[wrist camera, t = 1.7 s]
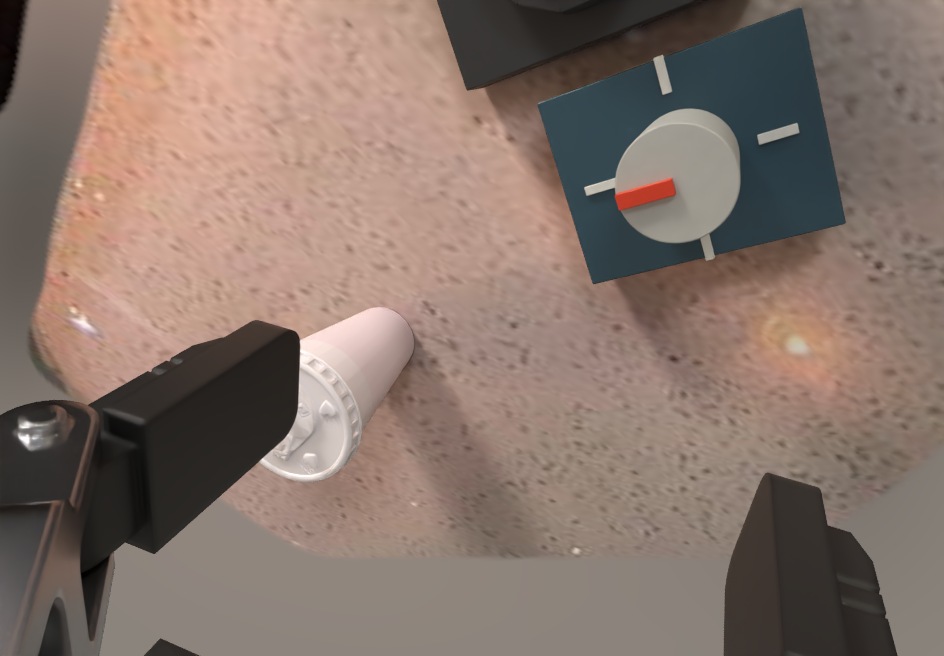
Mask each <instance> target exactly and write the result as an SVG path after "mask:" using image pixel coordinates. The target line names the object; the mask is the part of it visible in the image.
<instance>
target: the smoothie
mask: <svg viewBox="0 0 944 656" xmlns="http://www.w3.org/2000/svg"><path fill="white" fill-rule="evenodd" d="M413 351H414V337H413V333H412V330H411V328H410V326H409V325H408V323H407V322H406V321H405V320H404V318H402V317H401V316H400V315H399V314H398V313H396V312H394V311H392V310H390V309H387V308H383V307H374V308H370V309H368V310H365V311H363V312H361V313H359V314H357V315H354V316H352V317H350V318H348V319H345V320H343V321H341V322H339V323H337V324H334V325H332V326H330V327H328V328H325V329H323V330H321V331H319V332H317V333H314V334H312V335H310V336H308V337H306V338H303V339H301V340H300V369H299V397H298V411H297V415H296V419H295V422H294V424H293V426H292V428H291V430H290V432H289V433H288V435H287V436H286V437H285V439H284V440H283V441H281V442H280V443H279V444H278V445H277V446H276V447H275V448H274V449H272V450H271V451H270V452H269V453H268V454H267V455H266V456H265V457H263V458H262V459H261V460H260V461H259V463H260V464H262V465H263V466H264V467H265V468H267V469H268V470H270V471H272V472H274V473H275V474H277V475H279V476H282V477H284V478H287V479H290V480H294V481H300V482H316V481H321V480H324V479H327V478H329V477H331V476H332V475H334V474H335V473H337V472H338V471H339V470H340V469H341V468H342V467H343V466H345V465H346V464H347V463H348V462H349V461H350V460H351V458H352V457H353V456H354V455H355V454H356V451H357V449H358V446H359V444H360V441H361V434H362V431H363V429H364V428H365V427H366V425H367V423H368V422H369V420H370V418H371V417H372V415H373V414H374V412H375V411H376V409H377V408H378V406H379V405H380V403H381V402H382V400H383V399H384V397H385V396H386V394H387V393H388V391H389V390H390V388H391V387H392V385H393V384H394V382H395V381H396V379H397V378H398V376H399V374H400V373H401V371H402V370H403V368H404V367H405V365H406V364H407V362H408V361H409V359H410V358H411V356H412V354H413Z"/></svg>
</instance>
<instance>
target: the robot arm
mask: <svg viewBox="0 0 944 656" xmlns="http://www.w3.org/2000/svg"><path fill="white" fill-rule="evenodd" d="M299 369H300V339H299V336H298V334H297V333H296V332H295V331H293V330H289V329H286V328H283V327H279V326H276V325H273V324H269V323H266V322H263V321H259V320H255V321H252V322H250V323H248V324H246V325H245V326H243V327H241V328H240V329H238V330H236V331H234V332H233V333H231V334H229V335H228V336H226V337H224V338H219V339H215V340H211V341H208V342H204V343H201V344H197V345H193V346H191V347H190V348H188V349H186V350H184V351H183V352H181V353H179V354H177V355H176V356H174V357H172V358H171V360H170V362H169V361H165V362H163V363H161V364H160V365H158V366H156V367H154V368H153V369H152V372H149V371H147V372H145V373H144V374H142V375H140V376H138V377H137V378H135V379H133V380H131V381H130V382H128V383H126V384H124V385H122V386H121V387H119V388H117V389H115V390H114V391H112V392H110V393H108V394H107V395H105V396H103V397H101V398H100V399H98V400H96V401H94V402H92V403H91V404H89V405H86V404H82V403H79V402H74V401H67V400H49V401H41V402H34V403H30V404H26V405H23V406H20V407H16V408H14V409H12V410H9V411H7V412H5V413H3V414H2V415H0V656H99V654H100V649H101V643H102V638H103V632H104V626H105V620H106V614H107V608H108V603H109V597H110V592H111V586H112V580H113V574H114V569H115V561H114V551H115V550H116V549H117V548H119V547H120V546H121V545H122V544H123V543H125V542H126V543H128V544H131V545H133V546H136V547H138V548H140V549H143V550H146V551H148V552H150V553H153V554H155V553H156V552H158V551H159V550H160V549H161V548H162V547H163V546H164V545H165V544H166V543H168V542H169V541H170V540H171V539H172V538H173V537H174V536H176V535H177V534H178V533H179V532H180V531H181V530H182V529H183V528H185V527H186V526H187V525H188V524H189V523H190V522H191V521H192V520H194V519H195V518H196V517H197V516H198V515H199V514H200V513H201V512H203V511H204V510H205V509H206V508H207V507H208V506H209V505H210V504H211V503H213V502H214V501H215V500H216V499H217V498H218V497H220V496H221V495H222V494H223V493H224V492H225V491H226V490H227V489H229V488H230V487H231V486H232V485H233V484H234V483H235V482H236V481H238V480H239V479H240V478H241V477H242V476H243V475H244V474H245V473H247V472H248V471H249V470H250V469H251V468H252V467H253V466H254V465H256V464H257V463H258V462H259V461H260V460H261V459H262V458H263V457H265V456H266V455H267V454H268V453H269V452H270V451H271V450H272V449H274V448H275V447H276V446H277V445H278V444H279V443H280V442H281V441H283V440H284V439H285V437H286V436H287V435H288V433H289V432H290V430H291V428H292V426H293V424H294V422H295V419H296V415H297V411H298V397H299ZM879 591H880V587H879V584H878V580H877V576H876V572H875V568H874V565H873V561H872V560H871V559H870V557H869V556H868V555H867V553H866V552H865V551H864V549H863V548H862V547H861V545H860V544H859V543H858V541H857V540H856V539H855V538H854V536H853V535H852V534H851V533H850V532H847V531H844V530H841V529H837V528H834V527H831V526H828V525H827V520H826V515H825V509H824V504H823V499H822V494H821V490H820V489H819V488H818V487H815V486H811V485H808V484H805V483H801V482H798V481H794V480H791V479H788V478H784V477H781V476H778V475H774V474H771V473H766V474H765V475H764V476H763V478H762V480H761V482H760V484H759V486H758V489H757V491H756V494H755V497H754V499H753V502H752V504H751V507H750V510H749V512H748V515H747V517H746V520H745V523H744V525H743V528H742V530H741V533H740V536H739V538H738V541H737V543H736V546H735V549H734V551H733V554H732V557H731V561H730V565H729V569H728V574H727V579H726V586H725V619H724V656H897V652H896V649H895V645H894V641H893V637H892V634H891V630H890V626H889V622H888V619H886V618H885V615H886V611H885V607H884V603H883V599H882V596H881V595H880V594H879ZM144 656H199V655H197V654H194V653H192V652H190V651H188V650H185V649H183V648H181V647H179V646H176V645H174V644H172V643H170V642H167V641H165V640H163V639H159V640H158V641H157V643H156V644H155V645H154V646H153V647H152V648H151V649H150V650H149V651H148V652H147V653H146V654H145V655H144Z"/></svg>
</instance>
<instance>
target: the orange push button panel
mask: <svg viewBox="0 0 944 656" xmlns="http://www.w3.org/2000/svg"><path fill="white" fill-rule="evenodd" d="M704 1H707V0H437V2H438V5H439V8H440V11H441V14H442V17H443V20H444V23H445V26H446V29H447V32H448V35H449V38H450V41H451V44H452V47H453V50H454V53H455V56H456V59H457V62H458V65H459V68H460V71H461V74H462V77H463V80H464V83H465V86H466V89H467V90H473V89H479V88H484V87H486V86H489V85H491V84H494V83H496V82H499V81H502V80H504V79H507V78H509V77H512V76H514V75H517V74H520V73H522V72H525V71H527V70H530V69H532V68H535V67H537V66H540V65H543V64H545V63H548V62H550V61H553V60H555V59H558V58H561V57H563V56H566V55H568V54H571V53H573V52H576V51H578V50H581V49H584V48H586V47H589V46H591V45H594V44H596V43H599V42H602V41H604V40H607V39H609V38H612V37H614V36H617V35H620V34H622V33H625V32H627V31H630V30H632V29H635V28H637V27H640V26H643V25H645V24H648V23H650V22H653V21H655V20H658V19H661V18H663V17H666V16H668V15H671V14H673V13H676V12H678V11H681V10H684V9H686V8H689V7H691V6H694V5H696V4H699V3H702V2H704Z"/></svg>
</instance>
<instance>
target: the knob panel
mask: <svg viewBox="0 0 944 656" xmlns="http://www.w3.org/2000/svg"><path fill="white" fill-rule="evenodd" d="M653 60H654V61H652V62H649V63H646V64H644V65H641V66H638V67H635V68H633V69H630V70H627V71H625V72H622V73H619V74H616V75H614V76H611V77H608V78H605V79H603V80H600V81H597V82H594V83H592V84H589V85H586V86H584V87H581V88H578V89H575V90H573V91H570V92H567V93H564V94H562V95H559V96H556V97H554V98H551V99H548V100H545V101H543V102H540V103H538V108H539V111H540V114H541V117H542V121H543V124H544V127H545V130H546V134H547V137H548V140H549V143H550V147H551V150H552V153H553V156H554V160H555V163H556V166H557V169H558V173H559V176H560V179H561V182H562V186H563V189H564V192H565V195H566V199H567V202H568V205H569V208H570V212H571V215H572V218H573V221H574V224H575V228H576V231H577V234H578V237H579V241H580V244H581V247H582V250H583V254H584V257H585V260H586V263H587V267H588V270H589V273H590V276H591V280H592V283H593V284H597V283H601V282H605V281H609V280H613V279H617V278H622V277H626V276H630V275H634V274H638V273H642V272H647V271H651V270H655V269H659V268H663V267H667V266H672V265H676V264H680V263H684V262H688V261H692V260H697V259H701V258H705V259H706V261H708V260H712V259H715V255H717V254H722V253H726V252H730V251H734V250H738V249H742V248H747V247H751V246H755V245H759V244H763V243H767V242H772V241H776V240H780V239H784V238H788V237H792V236H797V235H801V234H805V233H809V232H813V231H817V230H822V229H826V228H830V227H834V226H838V225H842V224H845V223H846V221H845V216H844V211H843V206H842V201H841V197H840V192H839V187H838V182H837V177H836V172H835V167H834V162H833V157H832V153H831V148H830V143H829V138H828V133H827V128H826V123H825V118H824V113H823V109H822V104H821V99H820V94H819V89H818V84H817V79H816V74H815V69H814V65H813V60H812V55H811V50H810V45H809V40H808V35H807V30H806V25H805V21H804V16H803V11H802V8H801V7H799V8H797V9H794V10H791V11H788V12H786V13H783V14H780V15H777V16H775V17H772V18H769V19H767V20H764V21H761V22H758V23H756V24H753V25H750V26H747V27H745V28H742V29H739V30H736V31H734V32H731V33H728V34H726V35H723V36H720V37H717V38H715V39H712V40H709V41H706V42H704V43H701V44H698V45H696V46H693V47H690V48H687V49H685V50H682V51H679V52H676V53H674V54H671V55H668V56H665V57H663V55H660V56H657V57H655V58H653ZM680 109H700V110H704V111H707V112H710V113H712V114H714V115H716V116H717V117H719V118H720V119H722V120H723V121H724V122H725V123H726V124H727V125H728V126H729V127H730V129H731V130H732V132H733V133H734V135H735V137H736V139H737V142H738V146H739V151H740V181H741V183H740V191H739V195H738V199H737V201H736V204H735V206H734V208H733V210H732V212H731V213H730V215H729V216H728V217H727V219H726V220H725V221H724V222H723V223H722V224H721V225H720V226H719V227H718V228H717V229H715V230H714V231H713V232H711V233H710V234H708V235H706V236H704V237H702V238H700V239H697V240H694V241H691V242H685V243H665V242H659V241H656V240H653V239H651V238H648V237H646V236H644V235H643V234H641V233H640V232H638V231H637V230H636V229H635V228H633V227H632V226H631V225H630V224H629V222H628V221H627V220H626V219H625V217H624V216H623V214H622V212H621V211H619V209H618V205H617V202H616V199H615V195H616V194H615V177H616V172H617V168H618V165H619V162H620V160H621V158H622V156H623V154H624V153H625V151H626V150H627V148H628V147H629V146H630V145H631V144H632V142H633V141H634V140H635V139H636V138H637V137H638V136H639V135H640V134H641V133H642V132H643V131H644V130H645V129H646V128H647V127H648V126H649V125H651V124H652V123H653V122H654V121H655V120H657V119H658V118H659V117H661V116H663V115H665V114H667V113H669V112H672V111H676V110H680Z"/></svg>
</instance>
